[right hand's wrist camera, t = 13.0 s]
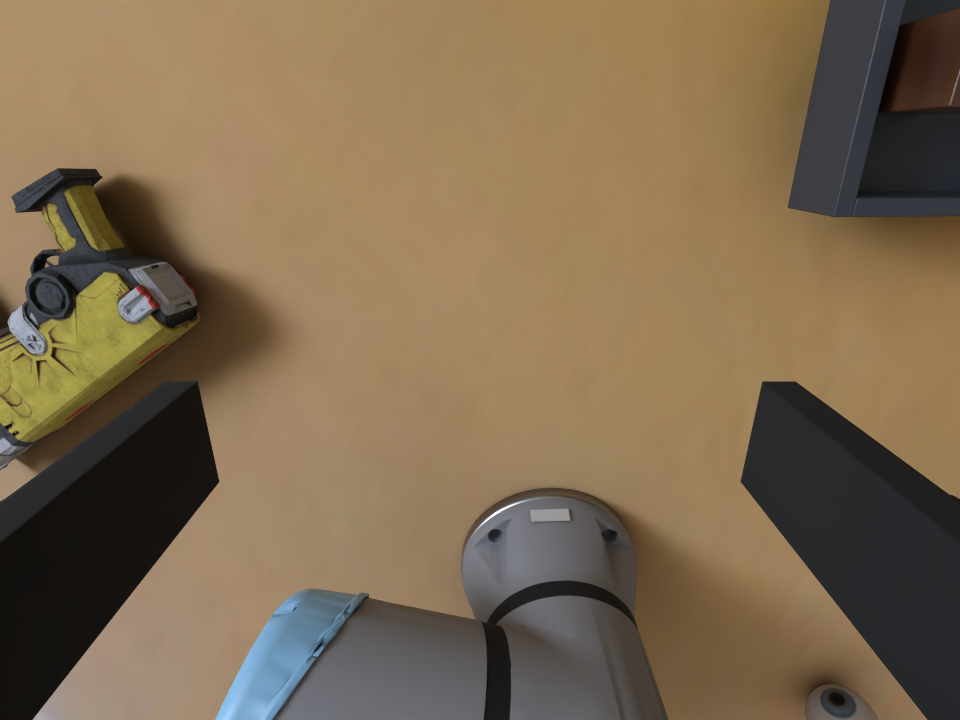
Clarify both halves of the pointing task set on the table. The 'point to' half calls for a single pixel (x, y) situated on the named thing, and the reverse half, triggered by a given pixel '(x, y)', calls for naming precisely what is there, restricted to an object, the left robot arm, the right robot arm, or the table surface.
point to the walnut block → (924, 68)
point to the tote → (873, 124)
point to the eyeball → (837, 704)
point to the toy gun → (81, 314)
